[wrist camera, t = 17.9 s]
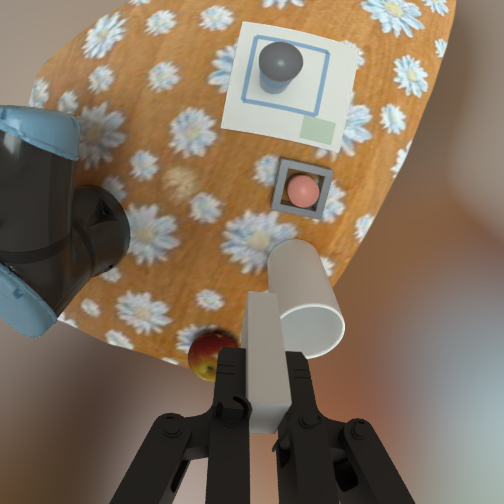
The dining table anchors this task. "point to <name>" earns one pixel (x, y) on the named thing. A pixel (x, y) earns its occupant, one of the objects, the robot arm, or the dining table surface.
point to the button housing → (288, 206)
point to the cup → (304, 299)
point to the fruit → (207, 354)
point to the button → (302, 190)
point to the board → (292, 89)
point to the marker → (279, 66)
